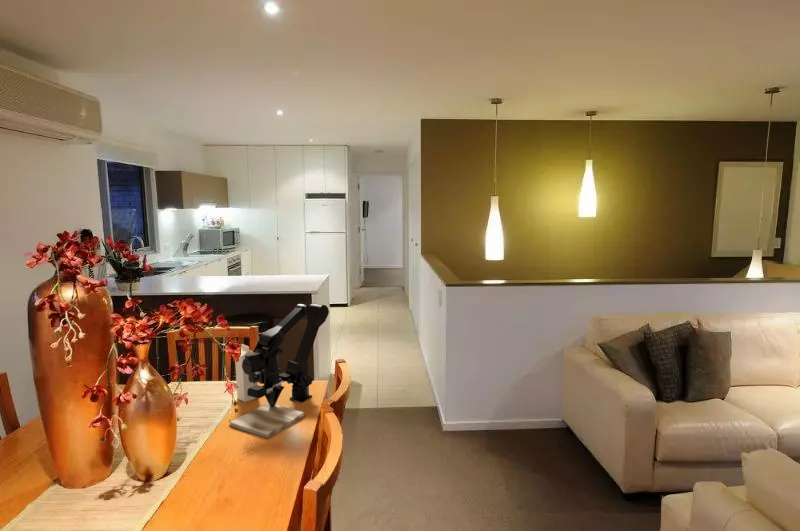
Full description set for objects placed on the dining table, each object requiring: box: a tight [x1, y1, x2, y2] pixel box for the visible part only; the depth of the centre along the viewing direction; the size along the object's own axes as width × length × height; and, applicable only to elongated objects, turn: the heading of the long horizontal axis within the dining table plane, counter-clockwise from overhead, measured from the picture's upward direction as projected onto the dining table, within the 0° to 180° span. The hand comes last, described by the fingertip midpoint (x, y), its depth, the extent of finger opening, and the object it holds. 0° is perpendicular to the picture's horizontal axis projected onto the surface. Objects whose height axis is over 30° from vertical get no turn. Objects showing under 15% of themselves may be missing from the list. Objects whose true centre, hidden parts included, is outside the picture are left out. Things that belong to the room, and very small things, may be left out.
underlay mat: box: [228, 414, 306, 439], centre depth 164 cm, size 19×18×1 cm
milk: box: [234, 343, 259, 403], centre depth 182 cm, size 6×6×22 cm
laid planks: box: [229, 409, 293, 439], centre depth 161 cm, size 12×18×1 cm, turn 61°
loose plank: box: [255, 401, 305, 424], centre depth 169 cm, size 6×18×1 cm, turn 61°
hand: (272, 406), depth 172 cm, fingers closed, pressing on loose plank
